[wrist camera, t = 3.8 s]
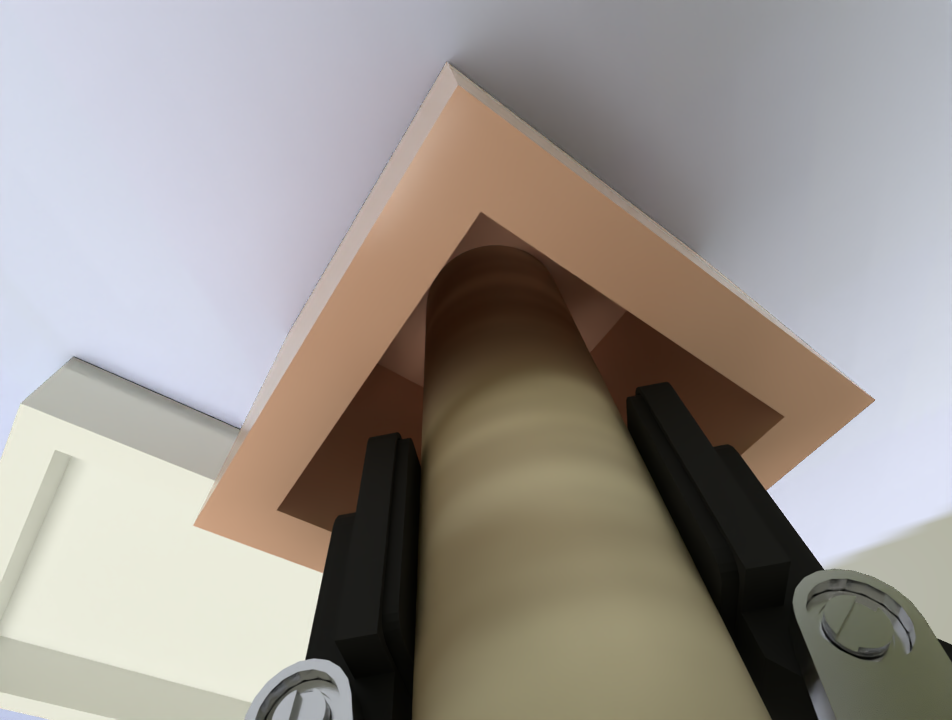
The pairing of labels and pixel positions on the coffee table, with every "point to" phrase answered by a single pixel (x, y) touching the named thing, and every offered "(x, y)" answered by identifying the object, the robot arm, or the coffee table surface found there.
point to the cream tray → (132, 563)
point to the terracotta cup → (582, 288)
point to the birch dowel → (548, 527)
